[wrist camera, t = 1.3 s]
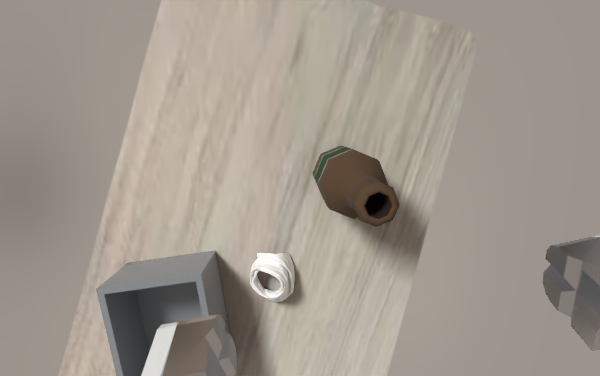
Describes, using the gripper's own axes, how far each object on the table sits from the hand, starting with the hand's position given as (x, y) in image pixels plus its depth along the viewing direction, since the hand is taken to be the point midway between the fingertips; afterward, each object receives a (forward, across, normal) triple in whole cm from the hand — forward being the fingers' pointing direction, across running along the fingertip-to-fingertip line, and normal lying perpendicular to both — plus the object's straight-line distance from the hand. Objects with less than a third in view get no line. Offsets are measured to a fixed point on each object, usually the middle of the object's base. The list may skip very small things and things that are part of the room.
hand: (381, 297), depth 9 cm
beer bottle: (+41, +2, -18) cm, 45 cm away
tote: (+34, -26, -32) cm, 53 cm away
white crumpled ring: (+36, -11, -30) cm, 48 cm away
